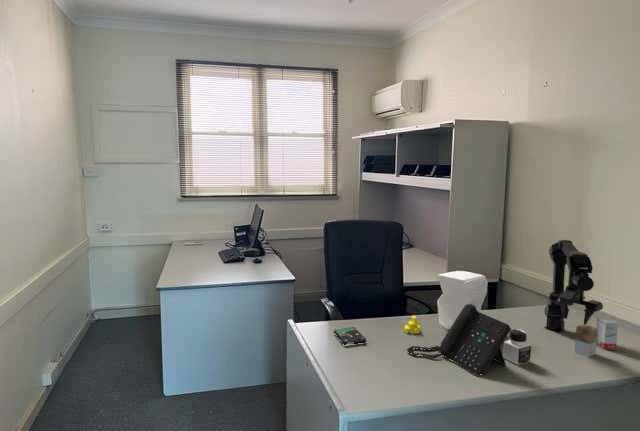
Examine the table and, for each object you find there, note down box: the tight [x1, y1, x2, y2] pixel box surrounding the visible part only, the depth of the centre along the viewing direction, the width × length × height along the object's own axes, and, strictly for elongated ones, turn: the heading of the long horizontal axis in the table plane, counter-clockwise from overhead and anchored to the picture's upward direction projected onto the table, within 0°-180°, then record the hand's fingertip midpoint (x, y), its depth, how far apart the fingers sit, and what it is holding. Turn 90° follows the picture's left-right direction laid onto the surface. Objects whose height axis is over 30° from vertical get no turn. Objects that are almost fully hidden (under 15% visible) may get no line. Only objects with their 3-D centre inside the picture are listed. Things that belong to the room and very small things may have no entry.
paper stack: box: [435, 270, 489, 330], centre depth 204 cm, size 21×27×26 cm
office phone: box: [406, 304, 512, 375], centre depth 170 cm, size 29×28×20 cm
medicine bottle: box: [502, 328, 532, 366], centre depth 170 cm, size 7×7×12 cm
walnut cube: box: [575, 323, 598, 344], centre depth 177 cm, size 6×6×6 cm
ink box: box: [596, 315, 619, 351], centre depth 184 cm, size 9×5×12 cm, turn 168°
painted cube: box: [574, 339, 597, 358], centre depth 177 cm, size 6×6×6 cm
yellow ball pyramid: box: [403, 315, 421, 333], centre depth 199 cm, size 6×8×8 cm
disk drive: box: [333, 326, 367, 345], centre depth 191 cm, size 10×3×15 cm
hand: (573, 320), depth 178 cm, fingers open, 9 cm apart
